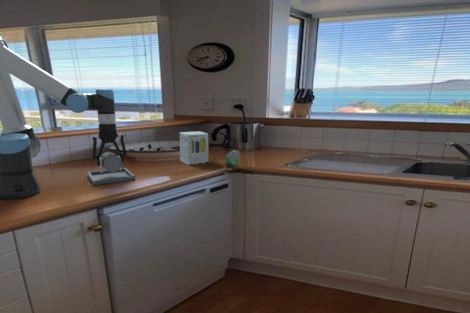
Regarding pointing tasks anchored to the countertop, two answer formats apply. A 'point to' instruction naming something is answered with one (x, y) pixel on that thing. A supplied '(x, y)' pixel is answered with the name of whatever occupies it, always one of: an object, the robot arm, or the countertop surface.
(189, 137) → the supplement box
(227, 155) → the food container
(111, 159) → the canned tomato
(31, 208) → the countertop surface
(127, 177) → the tray
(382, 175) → the countertop surface
